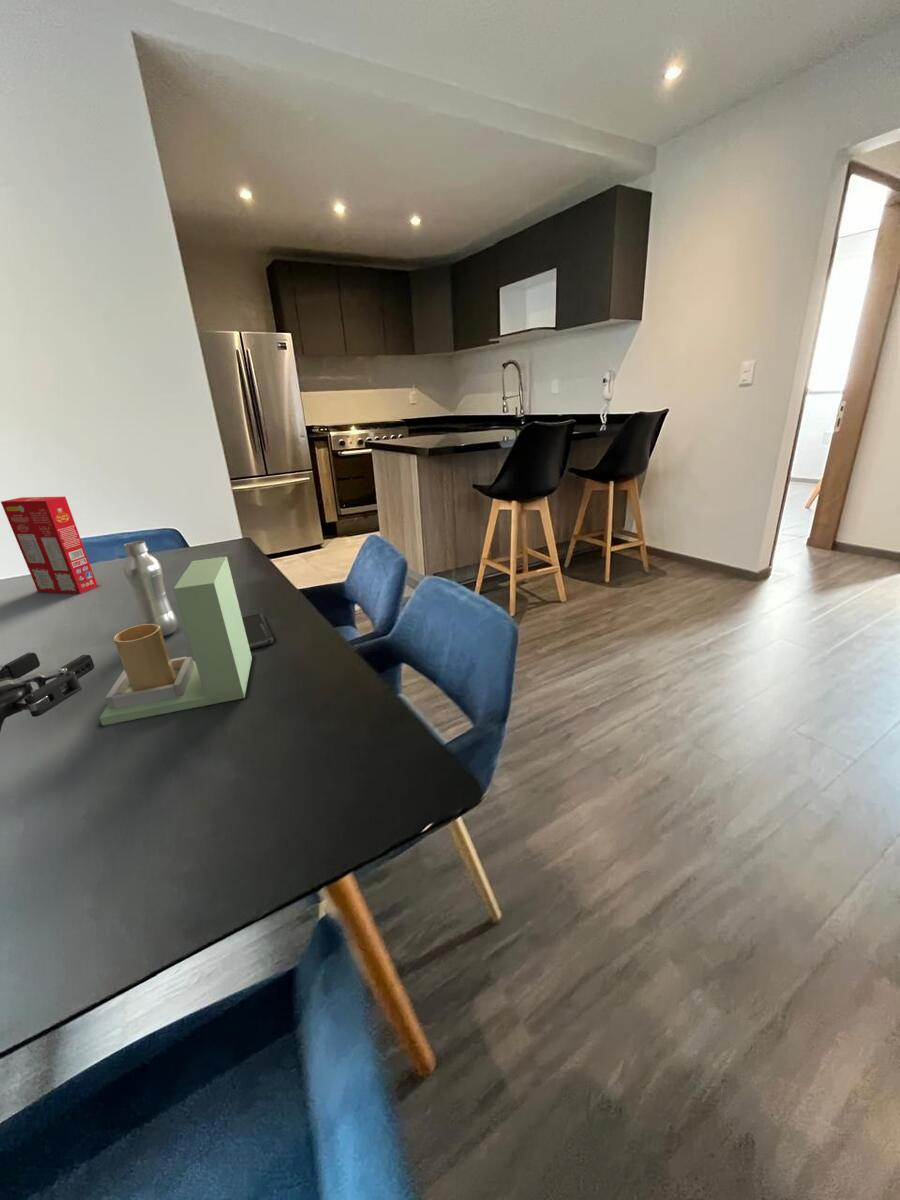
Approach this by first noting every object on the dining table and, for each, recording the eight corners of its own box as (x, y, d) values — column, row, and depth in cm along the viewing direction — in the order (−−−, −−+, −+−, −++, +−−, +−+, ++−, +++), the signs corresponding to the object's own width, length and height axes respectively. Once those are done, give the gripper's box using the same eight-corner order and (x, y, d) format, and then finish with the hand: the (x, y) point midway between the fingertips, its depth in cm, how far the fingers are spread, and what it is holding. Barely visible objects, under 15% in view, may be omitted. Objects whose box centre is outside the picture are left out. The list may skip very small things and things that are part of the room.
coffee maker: (102, 726, 75) (53, 605, 67) (130, 679, 87) (92, 574, 79) (244, 698, 79) (214, 582, 72) (252, 658, 92) (226, 556, 84)
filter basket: (127, 700, 78) (107, 645, 74) (140, 680, 84) (121, 627, 80) (171, 692, 79) (153, 637, 76) (180, 673, 85) (164, 621, 81)
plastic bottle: (139, 637, 104) (108, 546, 96) (171, 624, 109) (144, 537, 101) (154, 644, 100) (123, 550, 92) (186, 631, 105) (159, 540, 97)
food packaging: (97, 586, 136) (65, 496, 127) (80, 593, 132) (45, 500, 122) (56, 585, 140) (21, 497, 130) (38, 592, 135) (0, 501, 126)
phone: (231, 649, 93) (223, 621, 105) (232, 654, 94) (224, 626, 106) (273, 638, 96) (261, 612, 109) (275, 643, 97) (262, 617, 109)
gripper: (-33, 711, 48) (99, 635, 63) (-147, 704, 51) (6, 633, 65) (-1, 771, 51) (118, 685, 66) (-110, 762, 54) (28, 681, 68)
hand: (62, 659), depth 66 cm, fingers open, 8 cm apart
